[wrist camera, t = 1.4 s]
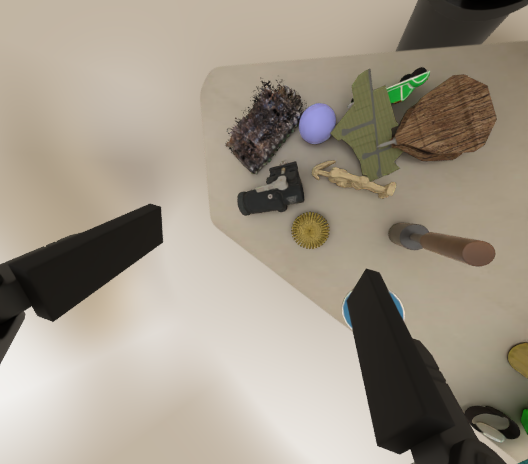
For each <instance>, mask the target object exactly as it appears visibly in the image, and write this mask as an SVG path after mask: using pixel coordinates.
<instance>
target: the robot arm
mask: <svg viewBox="0 0 528 464" xmlns="http://www.w3.org/2000/svg"><path fill="white" fill-rule="evenodd" d="M161 243H163V235H162V217H161V207H160V206H156V205H153V204H148V205H146V206H143V207H141V208H139V209H137V210H134V211H132V212H129V213H127V214H125V215H122V216H120V217H118V218H115V219H113V220H111V221H108V222H106V223H104V224H101V225H99V226H97V227H94V228H92V229H90V230H87V231H85V232H82V233H78V234H74V235H70V236H67V237H65V238H63V239H60V240H58V241H57V242H53V243H51V244H48V245H46V247H41V248H38V249H36V250H34V251H31V252H29V253H26V254H24V255H22V256H20V257H17V258H15V259H12V260H10V261H7V262H5V263H2V264H0V364H1V361H2V360H3V358H4V356H5V354H6V352H7V351H8V349H9V347H10V345H11V343H12V341H13V339H14V337H15V336H16V333H17V332H18V330H19V328H20V326H21V324H22V322H23V320H24V319H25V312H24V310H26V309H28V308H29V307H31V306H32V307H33V309H34V311H35V313H36V314H37V316H39V317H42V318H44V319H47V320H50V321H52V322H54V321H55V320H56V319H58V318H59V317H61V316H62V315H63V314H65V313H66V312H67V311H69V310H70V309H72V308H73V307H74V306H76V305H77V304H79V303H80V302H81V301H83V300H84V299H85V298H87V297H88V296H89V295H91V294H92V293H94V292H95V291H96V290H98V289H99V288H101V287H102V286H103V285H105V284H106V283H108V282H109V281H110V280H112V279H113V278H114V277H116V276H117V275H118V274H120V273H121V272H123V271H124V270H125V269H127V268H128V267H130V266H131V265H132V264H134V263H135V262H136V261H138V260H139V259H141V258H142V257H143V256H145V255H146V254H147V253H149V252H150V251H152V250H153V249H154V248H156V247H157V246H159V245H160V244H161ZM346 302H347V306H348V311H349V316H350V320H351V325H352V330H353V334H354V339H355V344H356V348H357V353H358V358H359V363H360V367H361V372H362V377H363V381H364V386H365V390H366V395H367V399H368V405H369V409H370V414H371V419H372V423H373V428H374V432H375V437H376V442H377V446H379V447H382V448H384V449H387V450H389V451H392V452H395V453H397V454H402V453H404V452H406V451H408V450H409V449H411V452H412V455H413V459H414V463H412V464H506V463H505V462H504V460H503V459H502V458H501V457H500V456H499V455H498V454H497V453H495V452H494V451H493V450H492V449H490V448H489V447H488V446H487V445H486V444H484V443H482V442H480V441H479V440H478V438H477V436H476V435H475V433H474V431H473V429H472V427H471V426H470V424H469V422H468V420H467V418H466V417H465V415H464V413H463V411H462V409H461V407H460V406H459V404H458V402H457V400H456V398H455V396H454V395H453V393H452V391H451V389H450V387H449V386H448V384H446V380H445V378H444V376H443V375H442V373H441V372H440V371H439V367H438V366H437V364H436V362H435V360H434V358H433V356H432V355H431V353H430V352H429V351H428V350H427V349H426V347H425V346H424V345H423V344H422V343H421V342H420V341H419V340H416V339H412V337H411V335H410V333H409V331H408V329H407V327H406V325H405V323H404V321H403V319H402V317H401V315H400V313H399V311H398V309H397V307H396V305H395V303H394V301H393V299H392V297H391V295H390V293H389V291H388V289H387V287H386V285H385V283H384V281H383V279H382V277H381V275H380V273H379V272H376V271H373V270H369V269H366V270H365V271H364V273H363V274H362V276H361V278H360V279H359V281H358V283H357V284H356V286H355V287H354V289H353V291H352V292H351V294H350V296H349V297H348V299H347V300H346Z"/></svg>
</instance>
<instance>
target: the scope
mask: <svg viewBox="0 0 528 464" xmlns="http://www.w3.org/2000/svg"><path fill="white" fill-rule="evenodd" d="M269 171H270V177H267V181H266V183H267V184H266V185H264V186H261V187H257V188H255V190H251V191H248V192H240V193H239V195H238V201H237V202H238V207H239V210H240V212H241V213H242V214H243V215H250V214H251V213H252V214H254V213H262V212H268V211H276V210H278V211H279V212H284V211H285V210H286V209H287V205H290V204H295V203H301V202H304V192H303V187H302V183H301V181H300V177H299V173H298V167H297V163H296V162H292V163H287V162H286V161H282V162H281V163H280V166H276V167H272V168H270V169H269Z"/></svg>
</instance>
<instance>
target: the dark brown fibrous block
mask: <svg viewBox="0 0 528 464" xmlns="http://www.w3.org/2000/svg"><path fill="white" fill-rule="evenodd" d="M260 78H261V77H260ZM276 81H277V80H276ZM282 81H283V80H282ZM282 81H281V82H282ZM281 82H280V83H281ZM262 83H266V84H263V85H264V87H265V86H266V85H267V86H268V87H265V88H264V89H262V88H263V86H262V88H260V89H262V91H261V93H260V92H259V93H260V94H259V93H258V94H259V97H261V98H259V99H257V97H258V95H257V96H256V97H253V98H255V100H254V102H256V100H257V102H256V103H255V104H254V105H253V104H252V105H253V108H252V109H249V110H250V111H251V110H252V111H251V112H250V111H249V110H248V111H249V112H248V113H249V114H248V115H246V117H244V116H243V119H241V121H239V122H238V121H235V122H237V123H238V125H237V126H238V127H237V126H235V125H234V126H235V127H233V129H231V130H232V131H233V132H232V131H231V132H230V133H232V135H231V139H230V141H229V142H227V144H226V147H227V146H229V147H230V148H229V149H232V148H231V147H234V150H233V151H232V150H231V151H232V152H233V154H234V155H235V157H237V158H238V160H239V161H240V162H241V163H242V164H243V165H244V166H245V167H246V168H247V169H248V170H249V171H250V172H251V173H252V174H257V172H258V171H259V170H260V169H261V168H262V166H263V165H266V162H270V161H271V159H270V157H271V156H273V155H274V152H275V151H278V149H277V148H278V147H280V146H281V144H282V143H284V142H285V140H286V138H287V137H289V136H290V133H292V132H294V128H295V127H296V126H298V122H300V118H301V116H302V114H303V113H304V111H303V109H302V110H301V107H302V105H303V104H302V103H303V102H302V103H301V101H300V98H301V97H300V95H298V96H297V95H296V92H297V91H296V92H295V90H294V93H292V90H291V89H292V88H291V89H290V88H289V87H287V86H286V85H285V86H283V87H284V88H283V87H282V86H281V85H280V84H279V85H277V86H281V90H280V87H277V88H278V89H277V90H278V92H277V90H275V89H273V90H272V89H271V85H268V84H269V83H271V82H270V81H269V82H268V83H267V82H263V80H262ZM256 87H257V86H256ZM258 87H259V86H258ZM286 87H287V88H286ZM272 88H274V87H272ZM257 89H258V88H257ZM271 90H272V91H271ZM253 91H256V90H253ZM258 91H259V90H258ZM298 94H299V93H298ZM289 96H291V97H290V98H289ZM250 98H251V97H250ZM297 99H298V100H299V101H297ZM252 100H253V99H252ZM304 101H305V100H304ZM305 104H307V103H305ZM306 106H307V105H306ZM247 108H249V107H247ZM302 111H303V112H302ZM246 112H247V111H246ZM243 113H244V112H243ZM235 119H237V118H235ZM239 120H240V119H239ZM237 123H236V124H237ZM239 123H240V124H239ZM227 130H228V128H227ZM227 132H228V131H227ZM228 133H229V132H228ZM230 133H229V134H230ZM281 148H282V147H281ZM232 152H231V153H232ZM275 156H276V155H275Z"/></svg>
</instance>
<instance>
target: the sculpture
mask: <svg viewBox="0 0 528 464" xmlns="http://www.w3.org/2000/svg"><path fill="white" fill-rule="evenodd" d="M316 216H317V213H315V216H314V212H312V216H311V212H309V215H308V212H306V215H305V213H303V216H302V214H301V215H300V217H301V218H300V217H299V216H298V217H297V218H298V219H299V220H298V219H297V218H296V219H295V220H296V221H297V222H296V221H294V223H295V224H292V225H293V226H294V227H292V229H293V230H292V232H293V233H292V235H293V234H296V235H293V236H292V237H296V236H297V237H296V238H294V240H296V239H298V238H299V239H298V240H297V241H295V242H296V243H297V242H298V241H299V240H300V239H301V240H300V241H299V243H298V245H299V244H300V243H301V241H302V240H303V239H304V240H303V241H302V243H301V245H300V246H302V245H303V243H304V245H303V248H304V247H305V245H306V248H307V249H308V245H309V249H311V246H312V249H314V247H315V248H317V246H318V247H320V245H323V243H325V241H326V240H327V239H326V238H328V237H329V236H327V235H329V233H328V232H329V231H330V230H328V228H329V227H325V226H327V225H329V224H328V223H327V224H325V223H326V222H327V220H326V221H324V220H325V218H324V219H322V220H321V218H322V217H323V216H321V217H320V218H319V216H320V214H319V215H318V216H317V218H316ZM318 218H319V220H318ZM306 220H307V221H306ZM317 220H318V221H317ZM320 220H321V221H320ZM304 221H305V222H304ZM316 221H317V222H316ZM319 221H320V222H319ZM323 221H324V222H323ZM318 222H319V223H318ZM321 222H322V223H321ZM320 223H321V224H320ZM323 224H324V225H323ZM302 235H303V236H302ZM320 236H321V237H320ZM318 237H319V238H318ZM324 240H325V241H324ZM304 241H305V242H304Z"/></svg>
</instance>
